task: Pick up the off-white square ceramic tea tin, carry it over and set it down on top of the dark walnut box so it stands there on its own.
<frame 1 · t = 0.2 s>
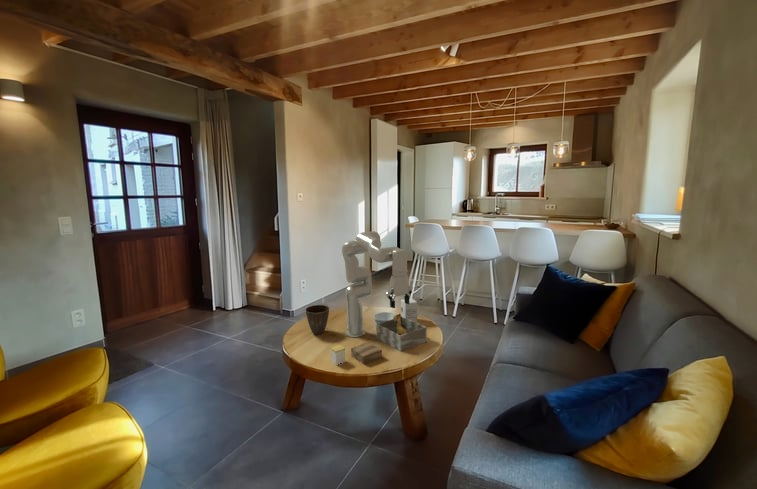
hand: (399, 305, 177), 31 cm above the table, fingers open, 9 cm apart
plant pot: (318, 332, 220), on the table
supplement box: (408, 321, 236), on the table
walnut box: (366, 357, 187), on the table
grey crate: (401, 339, 207), on the table
chinaware: (385, 327, 227), on the table
tea tin: (338, 361, 182), on the table
stuffed giraffe: (401, 339, 207), resting in grey crate
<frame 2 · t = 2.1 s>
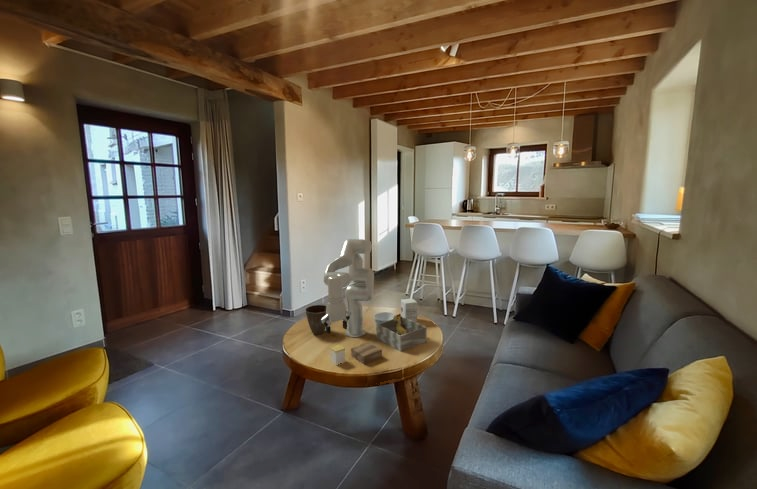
hand: (336, 330, 179), 18 cm above the table, fingers open, 9 cm apart
nothing on the table moved.
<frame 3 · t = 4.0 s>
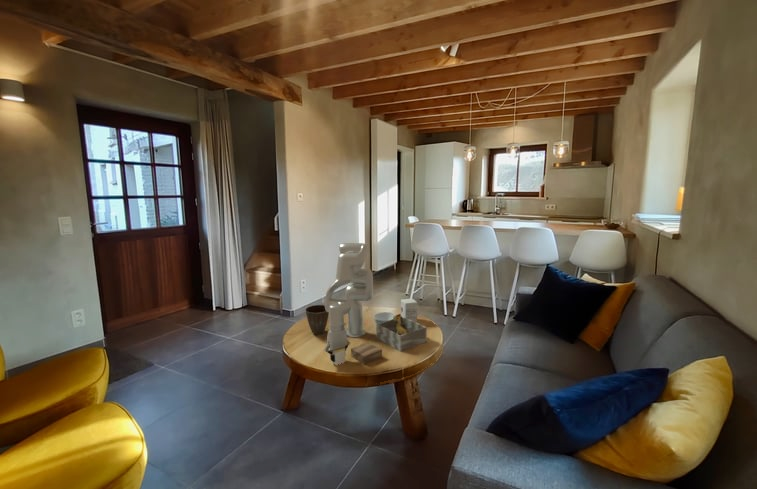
hand: (338, 359, 181), 2 cm above the table, fingers closed on tea tin, 5 cm apart
tea tin: (338, 361, 182), on the table, touching gripper
everything else where it was.
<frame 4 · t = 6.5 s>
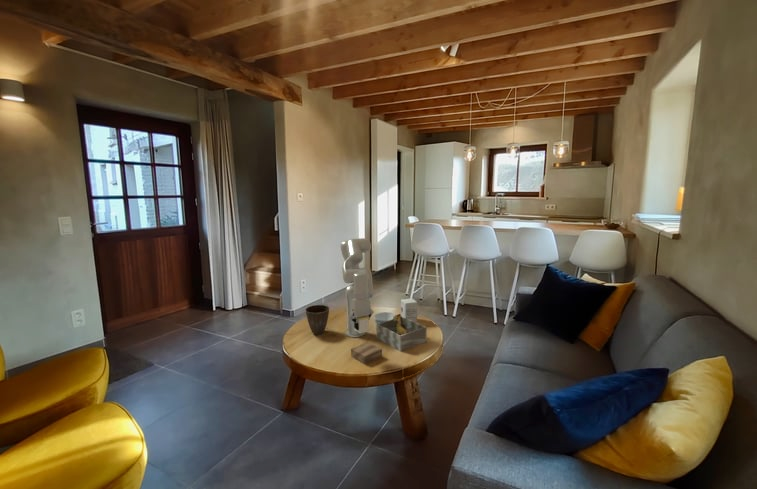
hand: (361, 327, 183), 17 cm above the table, fingers closed on tea tin, 5 cm apart
tea tin: (361, 330, 183), point 16 cm above the table, touching gripper
everything else where it was.
when the fingers open (7 cm above the table, at t = 9.0 s): tea tin drops 1 cm, point 5 cm above the table.
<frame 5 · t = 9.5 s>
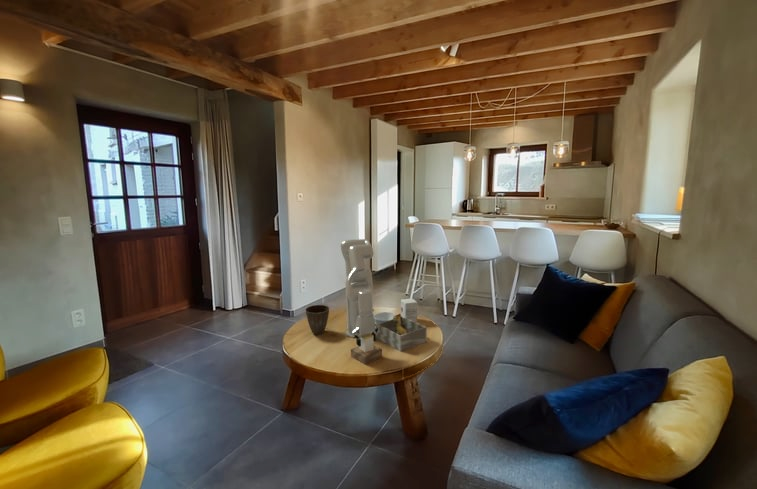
hand: (366, 343, 185), 8 cm above the table, fingers open, 9 cm apart
tea tin: (366, 349, 186), point 5 cm above the table
everything else where it was.
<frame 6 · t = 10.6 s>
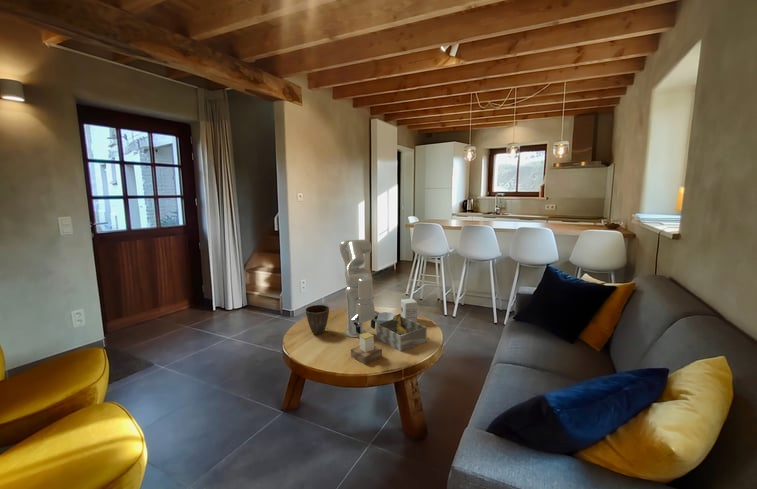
hand: (365, 330, 185), 15 cm above the table, fingers open, 9 cm apart
walnut box: (366, 357, 187), on the table, touching tea tin
tea tin: (366, 349, 186), point 5 cm above the table, touching walnut box
everything else where it was.
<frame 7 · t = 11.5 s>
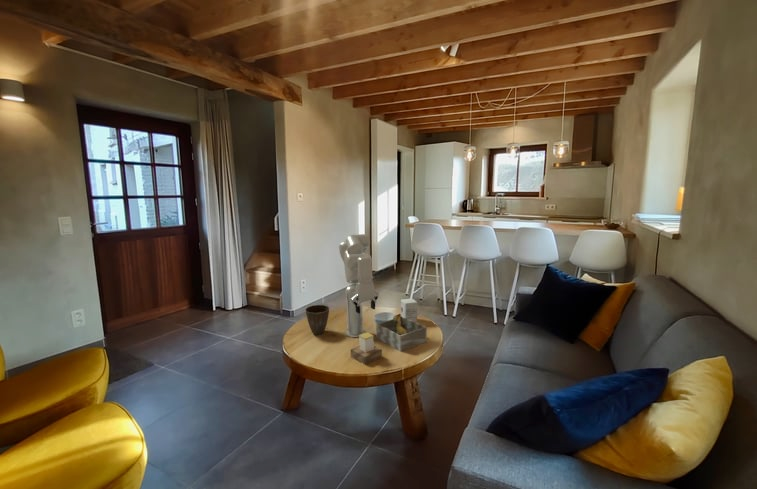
hand: (365, 310, 183), 26 cm above the table, fingers open, 9 cm apart
walnut box: (366, 357, 186), on the table
tea tin: (366, 349, 186), point 5 cm above the table
everything else where it was.
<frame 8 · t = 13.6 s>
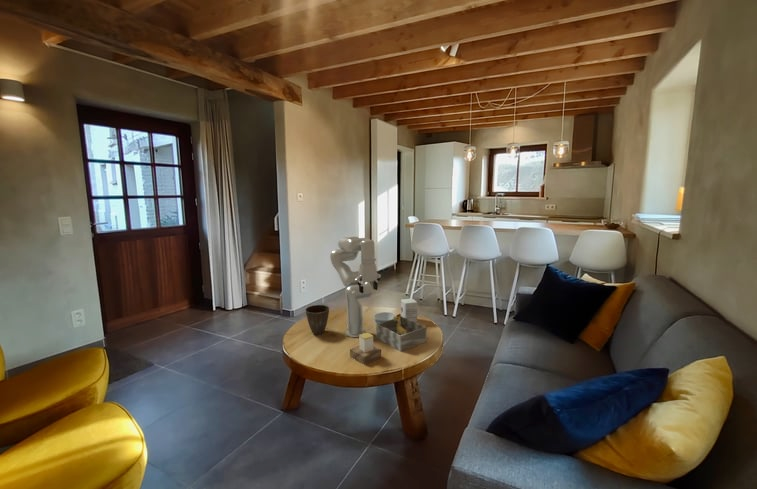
hand: (368, 291, 194), 33 cm above the table, fingers open, 9 cm apart
walnut box: (365, 357, 186), on the table, touching tea tin
tea tin: (366, 349, 186), point 5 cm above the table, touching walnut box
everything else where it was.
at the end: tea tin inside the target area on the walnut box (0.4 cm from its centre), point 5.0 cm above the walnut box's base; tea tin tilted 0°; the gripper is holding nothing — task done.
